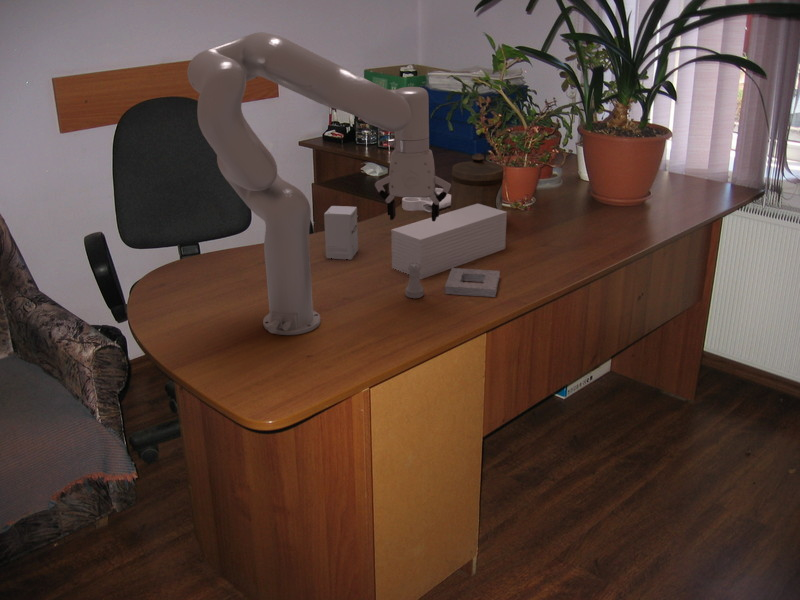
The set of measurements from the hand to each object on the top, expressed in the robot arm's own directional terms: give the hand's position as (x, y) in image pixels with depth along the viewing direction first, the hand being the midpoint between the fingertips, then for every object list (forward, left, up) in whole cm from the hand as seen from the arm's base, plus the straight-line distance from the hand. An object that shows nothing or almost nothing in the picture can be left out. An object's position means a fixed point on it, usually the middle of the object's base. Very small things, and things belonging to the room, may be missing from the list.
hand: (413, 218), depth 188 cm
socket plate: (+8, -13, -19) cm, 24 cm away
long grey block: (+26, -5, -19) cm, 33 cm away
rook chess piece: (0, 0, -19) cm, 19 cm away
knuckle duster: (+72, +8, -20) cm, 75 cm away
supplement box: (+24, +24, -19) cm, 39 cm away
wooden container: (+52, -9, -19) cm, 56 cm away
